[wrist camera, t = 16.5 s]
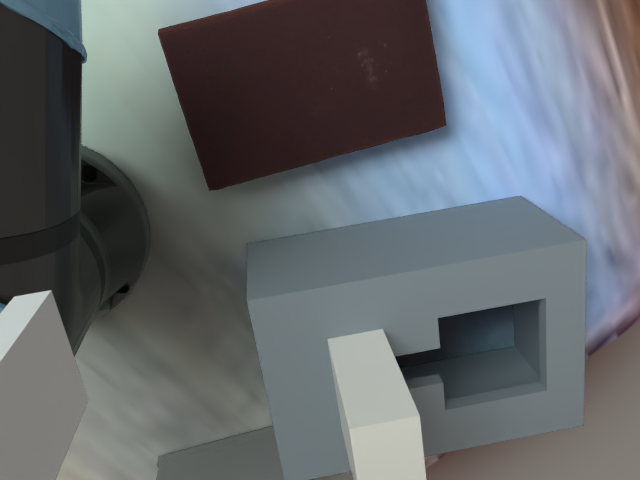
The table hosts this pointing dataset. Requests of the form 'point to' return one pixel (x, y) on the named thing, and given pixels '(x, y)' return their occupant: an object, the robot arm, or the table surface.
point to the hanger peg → (376, 409)
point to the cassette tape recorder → (226, 459)
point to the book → (302, 82)
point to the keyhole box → (423, 325)
